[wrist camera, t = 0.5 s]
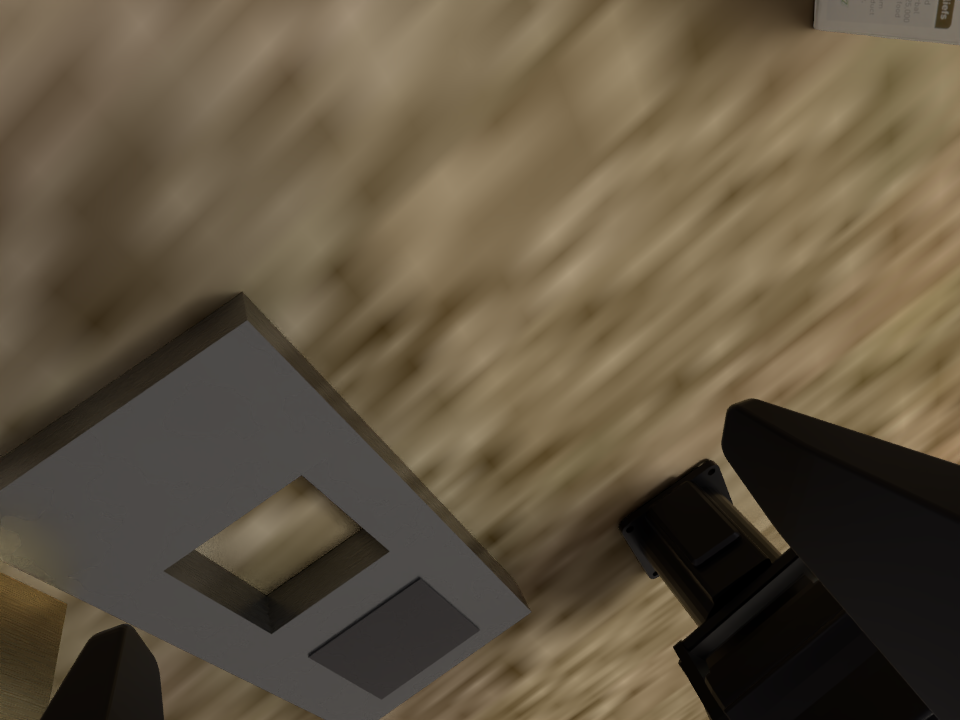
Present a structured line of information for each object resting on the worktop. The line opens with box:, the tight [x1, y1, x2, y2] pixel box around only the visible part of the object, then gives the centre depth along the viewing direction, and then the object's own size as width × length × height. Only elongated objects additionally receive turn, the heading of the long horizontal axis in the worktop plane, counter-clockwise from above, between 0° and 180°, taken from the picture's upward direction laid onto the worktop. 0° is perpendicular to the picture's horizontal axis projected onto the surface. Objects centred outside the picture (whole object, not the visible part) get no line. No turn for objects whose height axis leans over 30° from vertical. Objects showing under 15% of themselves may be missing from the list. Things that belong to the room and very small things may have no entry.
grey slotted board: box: [0, 292, 531, 720], centre depth 26 cm, size 22×11×2 cm, turn 28°
